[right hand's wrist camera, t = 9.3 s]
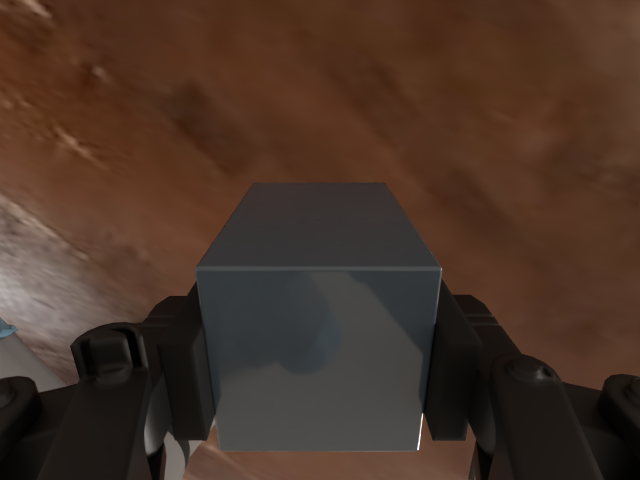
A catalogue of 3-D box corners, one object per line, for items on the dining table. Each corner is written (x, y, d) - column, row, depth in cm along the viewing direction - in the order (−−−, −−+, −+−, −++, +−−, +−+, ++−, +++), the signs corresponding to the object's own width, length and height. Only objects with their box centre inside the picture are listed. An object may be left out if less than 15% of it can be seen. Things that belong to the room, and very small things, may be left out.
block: (378, 300, 17) (419, 453, 10) (260, 300, 17) (218, 453, 10) (385, 182, 15) (444, 267, 8) (252, 182, 15) (193, 267, 8)
